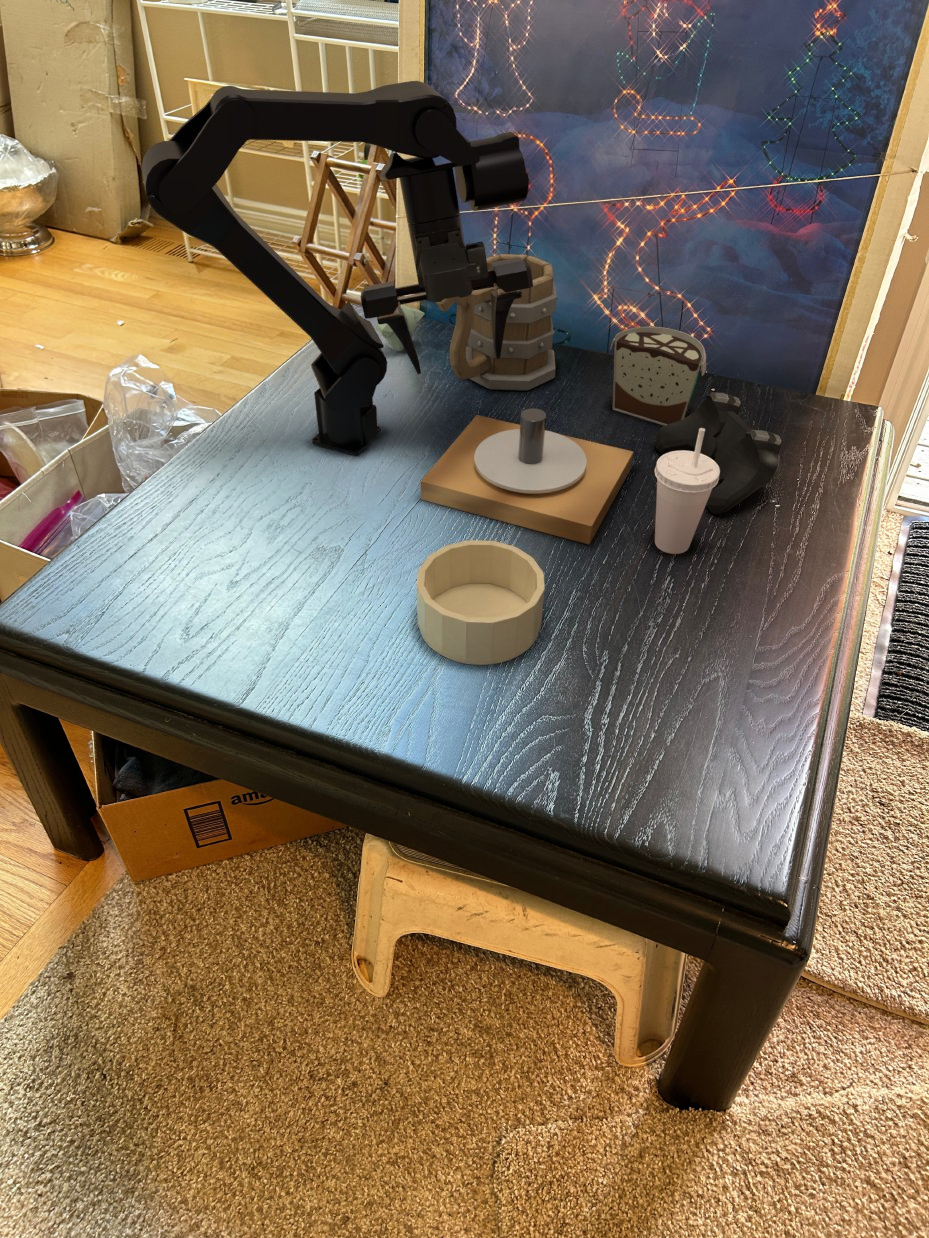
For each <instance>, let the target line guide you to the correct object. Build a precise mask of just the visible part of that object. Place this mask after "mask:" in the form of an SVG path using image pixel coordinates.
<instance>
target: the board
mask: <svg viewBox="0 0 929 1238" xmlns="http://www.w3.org/2000/svg"><path fill="white" fill-rule="evenodd" d="M513 429H520V424H518V423H513V422H509V421H505V420H502V419H501V420H500V419H496V418H491V417H488V416H483V415H479V414H476V415H475V416H474V417H473V419H472V420H471V421H470V422H469V423H468V425H467V426H466V427H465V428H464V429H463V431H461V433H460V434H459V435H458V436H457V437H456V439H455V440H454V441H453V442H452V443H451V445H450V446H449V447H448V448H447V450H445V452H444V453H443V454H442V455H441V457H440V458H439V459H438V460H437V461H436V462H435V464H433V466H432V467H431V468H430V470H429V471H428V472H427V473H426V474H425V475H424V476H423V477H422V479H421V480H420V499H421V500H422V501H425V502H429V503H432V504H436V505H440V506H445V507H448V508H452V509H455V510H458V511H462V512H466V513H470V514H473V515H477V516H481V517H484V518H488V519H493V520H496V521H500V522H504V523H507V524H510V525H515V526H518V527H522V528H525V529H529V530H534V531H537V532H541V533H544V534H547V535H552V536H556V537H559V538H562V539H567V540H569V541H574V542H578V543H581V544H585V545H588V546H589V545H590V544H591V543H592V540H593V539H594V537H595V535H596V533H597V532H598V530H599V528H600V527H601V524H602V522H603V521H604V519H605V517H606V516H607V514H608V512H609V510H610V508H611V506H612V504H613V503H614V501H615V499H616V498H617V495H618V494H619V492H620V490H621V488H622V486H623V484H624V483H625V481H626V479H627V477H628V475H629V474H630V472H631V470H632V465H633V459H634V458H633V457H634V451H632V450H629V449H625V448H620V447H616V446H611V445H607V444H602V443H599V442H594V441H590V440H586V439H583V438H582V439H581V438H577V437H573V436H569V435H565V434H560V433H559V434H560V435H563V436H565V437H567V438H569V439H571V440H572V441H574V442H575V443H576V444H578V445H579V446H580V447H581V448H582V450H583V451H584V453H585V455H586V459H587V466H586V470H585V473H584V475H583V476H582V477H581V478H580V479H579V480H578V481H577V482H576V483H574V484H573V485H571V486H569V487H567V488H564V489H561V490H558V491H554V492H549V493H538V494H530V493H520V492H514V491H510V490H506V489H503V488H500V487H498V486H496V485H494V484H492V483H490V482H488V481H487V480H486V479H484V478H483V477H482V476H481V475H480V474H479V472H478V471H477V469H476V467H475V464H474V454H475V451H476V449H477V447H478V446H479V444H480V443H481V442H482V441H484V440H485V439H486V438H488V437H490V436H492V435H494V434H497V433H500V432H503V431H507V430H513Z"/></svg>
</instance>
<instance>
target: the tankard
mask: <svg viewBox="0 0 929 1238" xmlns="http://www.w3.org/2000/svg"><path fill="white" fill-rule="evenodd" d="M517 257H519V258H521V259H522V260H524V261H525V262H527V263H528V264H529V265H530V268H531V272H532V280H533V287H531V288H527V289H522V290H520V291H521V292H522V297H521V298H518V299H514V301H513V303H512V305H511V307H510V310H509V313H508V317H507V320H506V324H505V330H504V336H503V343H502V349H501V355H500V359H496V357H495V351H494V346H493V331H492V313H491V294H490V291H494V289H493V288H492V287H491V288H486V289H481V290H475V291H472V294H471V295H469V296H467V297H463V298H460V297H453V298H448V299H443V300H442V301H441V302H435V304H436V305H437V307H438V309H439V310H440V311H442V312H445V313H446V312H448V311H449V310H450V309H451V307H452V306H453V305H454V304H457V305H456V315H455V316H456V317H455V318H456V319H455V326H454V329H453V333H452V337H451V341H450V345H449V365H450V367H451V369H452V370H453V373H454V375H455V377H456V378H457V379H459V380H462V381H463V380H468V379H469V380H471V381H473V382H475V384H478V385H480V386H482V387H484V388H486V389H488V390H490V391H491V390H492V391H520V392H523V391H525V392H527V391H528V392H529V391H530V390H532V389H534V388H536V387H538V386H540V385H543V384H545V383H547V382H549V381H552V380H553V379H555V378H556V357H555V351H554V349H553V341H554V334H555V332H556V331H555V329H554V324H553V317H551V316H552V315H554V314H556V307H557V300H558V295H557V290H556V282H555V281H554V268H553V265H552V264H551V263H550V262H548V261H545V260H543V259H540V258H537V257H535V256H533V255H531V254H530V255H527V254H510V253H498V254H494V255H491V256H488V257H486V259H487V266H488V270H490V262H496V261H501V260H506V259H511V258H517Z"/></svg>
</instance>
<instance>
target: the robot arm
mask: <svg viewBox="0 0 929 1238" xmlns="http://www.w3.org/2000/svg"><path fill="white" fill-rule="evenodd" d="M248 141H284V142H285V141H287V142H288V141H289V142H290V141H291V142H292V141H293V142H332V143H333V142H334V143H335V142H336V143H337V142H338V143H364V144H368V145H374V146H376V147H379V148H382V149H385V150H388V151H391V152H393V153H390V154H389V157H388V161H387V163H386V164H385V166H384V167H383V169H382V171H381V172H380V173H379V179H380V181H391V180H396V179H399V184H400V190H401V194H402V201H403V205H404V212H405V217H406V222H407V223H406V224H407V226H408V227H407V228H408V232H409V234H408V235H409V239H410V244H411V245H410V246H411V251H412V256H413V260H414V266H415V272H416V279H417V283H415V284H409V285H404V286H399V287H396V283H395V280H392V281H385V282H381V283H375V284H370V285H365V286H364V287H363V289H361V292H360V302H361V308H362V311H363V316H361V315H360V314H359V313H358V312H357V309H355V307H354V306H353V304H352V303H351V301H349V300H348V301H346V303H345V304H344V305H343V307H342V308H341V309H340V308H338V307H336V306H334V305H332V304H330V303H329V302H327V301H326V300H325V299H324V298H323V297H322V296H321V295H320V294H319V293H318V292H317V290H315V289H314V288H313V287H312V286H311V285H310V284H309V283H308V282H307V281H306V280H305V279H304V278H303V277H302V276H301V275H300V274H299V273H298V272H297V271H296V270H295V269H294V268H292V266H290V265H289V263H288V262H286V260H284V258H282V256H281V255H280V254H278V252H277V251H276V250H274V248H272V247H271V246H270V245H269V244H268V243H267V242H266V240H265V239H264V238H262V237H261V236H260V235H259V233H257V232H256V231H255V230H254V229H253V228H252V227H251V226H250V225H249V224H248V223H247V222H246V221H245V220H244V219H243V218H242V217H241V216H240V215H239V214H238V213H237V212H236V210H234V208H233V207H232V205H231V204H230V202H229V201H228V200H227V197H226V196H225V195H224V193H223V192H222V190H221V189H220V187H219V186H218V184H217V183H218V182H219V181H220V180H221V178H222V177H223V175H224V174H225V172H226V171H227V169H228V168H229V166H230V165H231V163H232V161H233V160H234V158H235V157H236V155H237V154H238V152H239V151H240V150H241V148H243V146H244V145H245V144H246V143H247V142H248ZM400 154H402V155H406V156H411V157H409V158H403V157H402V156H401V155H400ZM439 157H441V158H443V159H445V160H447V161H449V162H444V163H439V164H436V162H435V160H434V159H436V158H439ZM141 172H142V173H141V174H142V179H143V184H144V190H145V193H146V194H145V196H146V198H147V201H148V204H149V205H150V208H152V210H153V211H154V212H155V213H156V214H157V215H158V216H160V217H161V218H162V219H163V220H165V221H167V222H168V223H169V224H171V225H173V226H174V227H175V228H177V229H179V230H180V231H181V232H183V233H184V234H186V235H187V236H190V237H192V238H194V239H195V240H198V241H200V242H202V243H204V244H206V245H209V246H210V247H212V248H214V249H215V250H216V251H217V252H218V253H220V255H222V256H223V257H224V258H225V259H226V260H227V261H228V262H229V263H230V264H231V265H233V267H234V268H236V269H237V270H238V271H239V272H240V273H241V274H242V275H243V276H244V277H246V279H248V280H249V281H250V282H251V283H252V284H253V285H254V286H255V287H256V288H257V289H258V290H259V291H260V292H262V293H263V295H265V297H267V298H268V299H269V300H270V301H271V302H272V303H273V304H274V305H275V306H276V307H278V309H280V310H281V312H283V313H284V314H285V315H286V316H287V317H288V318H289V319H290V320H291V321H293V322H294V324H296V325H297V326H298V327H299V328H300V329H301V330H302V331H303V332H304V333H305V334H306V335H307V336H309V338H310V339H311V340H312V341H313V343H314V344H315V346H316V348H317V349H318V350H319V352H320V354H319V355H318V356H317V357H316V358H315V359H314V360H313V362H312V363H311V364H310V368H311V370H312V372H313V374H314V377H315V379H316V382H317V384H318V386H319V387H318V389H317V390H316V391H314V393H313V395H314V405H315V413H316V423H317V430H318V432H317V434H315V436H314V437H312V438H311V443H312V445H314V446H318V447H322V448H327V449H329V450H330V449H331V450H334V451H337V452H341V453H346V454H350V455H352V456H353V455H354V456H358V455H360V454H362V452H364V450H365V449H366V448H367V447H368V446H369V445H370V443H372V441H373V440H374V439H376V438H377V437H378V436H379V434H380V433H381V432H382V427H381V426H379V425H378V412H377V405H376V404H374V395H375V392H376V389H377V386H379V384H380V383H381V382H382V381H383V380H384V378H385V376H386V374H387V372H388V360H387V357H386V355H385V354H384V352H383V350H382V349H383V348H384V347H385V345H384V343H383V341H382V339H381V338H380V336H379V334H378V333H377V331H376V329H375V327H374V325H373V323H372V322H371V319H374V318H376V320H377V323H378V324H388V325H389V326H390V328H391V329H392V330H393V332H394V333H395V334H396V336H397V337H398V339H399V340H400V342H401V343H402V345H403V347H404V349H403V350H404V351H405V353H406V354H407V356H408V358H409V361H410V362H411V365H412V366H413V367H414V370H415V371H416V374H417V375H421V374H422V370H421V366H420V361H419V357H418V354H417V350H416V347H415V343H414V341H413V337H412V338H411V335H410V332H409V328H408V325H407V322H406V319H405V316H404V313H403V310H402V308H401V306H400V305H402V304H403V305H406V304H411V303H417V302H421V301H422V302H423V301H428V302H429V303H435V304H436V302H441V301H442V300H443V299H448V298H453V297H460V298H463V297H467V296H469V295H471V294H472V291H475V290H481V289H486V288H491V287H492V288H493V289H494V291H490V294H491V313H492V331H493V346H494V351H495V357H496V359H500V355H501V349H502V343H503V336H504V330H505V324H506V320H507V317H508V313H509V310H510V307H511V305H512V303H513V301H514V299H518V298H521V297H522V292H521V291H520V290H522V289H527V288H531V287H533V280H532V272H531V268H530V265H529V264H528V263H527V262H525V261H524V260H522V259H521V258H519V257H517V258H511V259H506V260H501V261H496V262H490V270H488V266H487V259H486V258H487V253H486V247H485V244H484V242H483V241H478V242H471V243H467V244H466V243H465V237H464V231H463V225H462V218H461V211H460V204H459V199H460V201H461V203H463V204H466V203H468V205H469V207H470V208H471V210H472V211H474V212H478V211H482V210H488V209H492V208H497V207H502V206H507V205H512V204H516V203H521V202H524V201H526V200H527V197H528V194H529V186H530V185H529V182H530V181H529V173H528V172H527V169H526V163H525V159H524V156H523V153H522V150H521V149H520V137H519V136H517V134H515V133H514V132H513V131H506V132H502V133H499V134H497V135H495V136H491V137H485V138H482V139H481V138H480V139H475V140H469V138H467V137H466V136H465V135H463V133H461V132H460V131H459V130H458V128H457V116H456V113H455V110H454V108H453V106H452V105H451V103H450V102H449V101H448V100H447V99H446V98H445V97H444V96H442V95H441V94H440V93H439V92H438V91H436V90H435V89H434V88H433V87H432V86H431V85H429V84H428V83H426V82H424V81H420V80H410V81H404V82H397V83H390V84H385V85H381V86H379V87H375V88H373V89H370V90H366V91H361V92H356V93H355V92H353V93H352V92H329V91H327V92H326V91H305V90H301V91H300V90H278V89H277V90H275V89H253V88H252V89H251V88H240V87H238V86H235V85H225V86H221V87H220V88H218V89H216V90H215V92H214V93H213V94H212V96H211V98H210V99H209V100H208V101H207V102H206V104H204V106H203V107H202V108H200V109H199V110H198V111H197V112H196V113H195V114H193V115H192V116H191V117H190V118H189V119H187V121H185V122H184V123H183V124H182V125H181V126H180V127H179V128H178V130H176V132H175V133H174V134H173V135H172V137H170V139H169V140H163V141H160V142H156V143H154V144H153V145H152V146H150V147H149V148H148V149H147V151H146V153H145V154H144V156H143V159H142V163H141ZM458 197H459V199H458ZM399 308H400V309H399Z"/></svg>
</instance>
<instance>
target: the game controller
mask: <svg viewBox="0 0 929 1238" xmlns="http://www.w3.org/2000/svg"><path fill="white" fill-rule="evenodd" d="M740 405H741V401H740V398H739V397H737V396H734V395H731V394H726V393H724V392H713V391H712V392H710V393H709V394H706V400H704V401H703V402H702V403H700V405H699V406H698V407H697V409H696V410H695V411H693V412H692V413H690V414H689V415H688V416H687V415H686V416H685V418H684V419H683V420H680V421H676V422H673V423H670V424H667V425H665V426H663V425H662V426H661V427H660V429H659V430H658V431H657V433H656V436H655V448H656V450H657V452H659V453H660V454H662V455H664V454H666V453H669V452H672V451H682V450H684V451H693V450H695V447H696V442H697V437H698V433H699V429H700V428H704V429H705V432H704V437H703V441H702V446H701V450H700V453H701V454H703V455H706V456H708V457H709V458H711V459H712V460H714V461H715V462H716V463H717V465H718V466H719V469H720V474H719V480H718V481H721V483H719V484H718V485H716V486H715V487H714V488H713V489H712V491H711V493H710V496H709V498H708V501H707V503H706V506H707V508H708V510H709V512H711V513H713V514H715V515H722V514H725V513H726V512H729V511H730V510H731V509H732V508H734V507H736V506H737V505H738V504H740V503H741V502H742V501H744V500H745V499H746V498H748V497H749V496H751V495H752V494H753V493H754V492H756V491H757V490H758V489H760V488H761V487H763V486H766V485H767V484H769V483H770V482H771V481H772V480H773V479H774V478H775V476H776V474H777V472H778V470H779V467H780V463H781V459H780V454H779V453H780V451H781V449H782V445H781V443H782V439H781V438H780V437H781V436H780V435H778V434H775V433H773V432H771V431H765V430H761V429H753V428H751V427H750V426H749V425H748V423H746V421H744V420H743V419H742V417H740V416H739V414H740V413H739V412H740V410H741V406H740Z"/></svg>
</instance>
